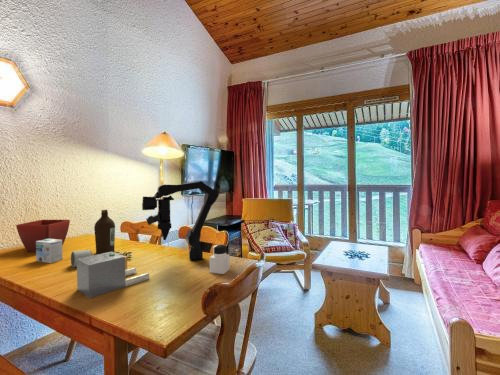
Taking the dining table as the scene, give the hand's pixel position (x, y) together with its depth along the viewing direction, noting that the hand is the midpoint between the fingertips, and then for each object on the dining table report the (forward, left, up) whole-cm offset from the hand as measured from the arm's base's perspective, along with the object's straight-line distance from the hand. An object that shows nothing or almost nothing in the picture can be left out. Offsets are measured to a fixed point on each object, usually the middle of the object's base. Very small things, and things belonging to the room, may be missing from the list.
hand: (164, 239), depth 130 cm
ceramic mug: (+40, -12, -12) cm, 44 cm away
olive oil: (+33, -33, -12) cm, 48 cm away
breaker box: (+20, +20, -12) cm, 31 cm away
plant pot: (+70, -54, -12) cm, 89 cm away
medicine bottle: (-24, +20, -12) cm, 34 cm away
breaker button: (+21, +21, -7) cm, 31 cm away
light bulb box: (+58, -26, -12) cm, 65 cm away
